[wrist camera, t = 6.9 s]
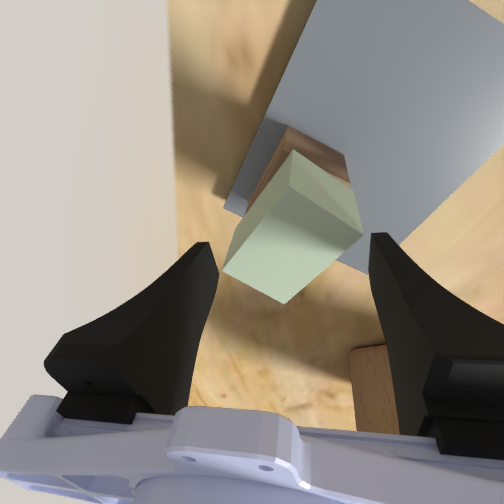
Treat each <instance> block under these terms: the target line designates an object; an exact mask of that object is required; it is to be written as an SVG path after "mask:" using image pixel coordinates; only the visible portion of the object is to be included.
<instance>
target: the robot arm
mask: <svg viewBox="0 0 504 504" xmlns="http://www.w3.org/2000/svg"><path fill="white" fill-rule="evenodd" d="M368 272H369V279H370V286H371V291H372V295H373V298H374V302H375V305H376V309H377V312H378V316H379V319H380V323H381V326H382V330H383V333H384V337H385V342H386V346H387V352H388V358H389V364H390V370H391V376H392V383H393V389H394V396H395V403H396V410H397V417H398V425H399V432H400V435H395V434H383V433H372V432H360V431H348V430H336V429H325V428H313V427H301V426H295V425H294V423H293V422H292V421H291V420H290V419H288V418H286V417H284V416H282V415H280V414H277V413H272V412H267V411H259V410H245V409H232V408H219V407H206V406H188V400H189V394H190V388H191V382H192V376H193V371H194V366H195V361H196V356H197V351H198V347H199V342H200V339H201V335H202V332H203V329H204V326H205V323H206V320H207V317H208V314H209V311H210V308H211V306H212V303H213V300H214V297H215V293H216V289H217V284H218V279H219V271H218V268H217V265H216V262H215V259H214V256H213V253H212V250H211V247H210V244H209V242H197V243H196V244H194V245H193V246H192V247H191V248H190V249H189V250H188V251H187V252H186V253H185V254H184V255H183V256H182V257H181V258H180V259H179V260H178V261H176V262H175V263H174V264H173V265H172V266H171V267H170V268H169V269H168V270H167V271H166V272H165V273H163V274H162V275H161V276H160V277H159V278H158V279H157V280H155V281H154V282H153V283H152V284H151V285H149V286H148V287H147V288H145V289H144V290H143V291H141V292H140V293H139V294H137V295H136V296H134V297H133V298H132V299H130V300H128V301H127V302H125V303H124V304H122V305H120V306H119V307H117V308H116V309H114V310H112V311H110V312H109V313H107V314H105V315H103V316H101V317H99V318H97V319H96V320H94V321H92V322H90V323H88V324H85V325H83V326H81V327H79V328H77V329H74V330H72V331H70V332H68V333H65V334H64V335H63V336H62V337H61V339H60V340H59V341H58V343H57V344H56V345H55V347H54V348H53V349H52V351H51V352H50V353H49V355H48V356H47V357H46V359H45V360H44V367H45V369H46V371H47V372H48V373H49V375H50V376H51V377H52V378H54V379H55V380H56V381H57V382H58V383H59V384H60V385H61V386H63V387H64V388H65V389H66V390H67V391H68V392H67V394H66V396H65V397H64V399H62V398H59V397H55V396H46V395H32V396H31V397H30V398H29V400H28V401H27V403H26V404H25V405H24V407H23V408H22V409H21V411H20V412H19V414H18V415H17V417H16V418H15V419H14V421H13V422H12V424H11V425H10V426H9V428H8V429H7V431H6V432H5V434H4V435H3V436H2V438H1V439H0V477H2V478H4V479H6V480H8V481H10V482H13V483H14V484H17V485H19V486H21V487H23V488H25V489H27V490H32V491H37V492H43V493H49V494H54V495H59V496H64V497H69V498H73V499H77V500H82V501H86V502H91V503H95V504H504V324H502V323H500V322H498V321H496V320H494V319H492V318H491V317H489V316H487V315H485V314H483V313H482V312H480V311H478V310H477V309H475V308H473V307H472V306H470V305H469V304H467V303H465V302H464V301H462V300H461V299H459V298H458V297H456V296H455V295H453V294H452V293H450V292H449V291H448V290H446V289H445V288H444V287H442V286H441V285H440V284H438V283H437V282H436V281H435V280H434V279H432V278H431V277H430V276H429V275H428V274H427V273H426V272H424V271H423V270H422V269H421V268H420V267H419V266H418V265H417V264H416V263H415V262H414V261H413V260H412V259H411V258H410V257H409V256H408V255H407V254H406V253H405V252H404V251H403V250H402V249H401V247H400V246H399V245H398V244H397V243H396V242H395V241H394V239H393V238H392V237H391V236H390V235H389V234H388V233H387V232H378V233H371V239H370V252H369V265H368Z"/></svg>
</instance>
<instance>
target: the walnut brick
mask: <svg viewBox="0 0 504 504" xmlns="http://www.w3.org/2000/svg"><path fill="white" fill-rule="evenodd" d="M293 149H294V150H295V151H296V152H298V153H299V154H301V155H302V156H304V157H305V158H307V159H308V160H310V161H311V162H312V163H314V164H315V165H317V166H318V167H320V168H321V169H323V170H324V171H326V172H327V173H328V174H330V175H331V176H333V177H334V178H336V179H337V180H339V181H340V182H341V183H343V184H344V185H346V186H347V187H349V185H350V180H349V175H348V171H347V166H346V161H345V157H344V154H342V153H340V152H338V151H336V150H334V149H332V148H330V147H328V146H326V145H325V144H323V143H321V142H319V141H317V140H315V139H313V138H311V137H309V136H307V135H305V134H304V133H302V132H300V131H298V130H296V129H294V128H292V127H290V126H287V128H286V130H285V132H284V134H283V135H282V137H281V139H280V141H279V143H278V145H277V147H276V149H275V151H274V153H273V155H272V157H271V159H270V161H269V163H268V165H267V167H266V169H265V171H264V172H263V174H262V176H261V178H260V180H259V182H258V184H257V186H256V188H255V190H254V192H253V194H252V196H251V198H250V200H249V202H248V205H247V208H246V212H245V214H246V213H247V212H248V210H249V209H250V208H251V206H252V205H253V204H254V202H255V201H256V199H257V198H258V197H259V195H260V194H261V193H262V191H263V190H264V188H265V187H266V186H267V184H268V183H269V182H270V180H271V179H272V178H273V176H274V175H275V173H276V172H277V171H278V169H279V168H280V167H281V165H282V164H283V163H284V161H285V160H286V158H287V157H288V156H289V154H290V153H291V152H292V150H293ZM244 216H245V215H244Z"/></svg>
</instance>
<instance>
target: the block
mask: <svg viewBox="0 0 504 504" xmlns="http://www.w3.org/2000/svg"><path fill="white" fill-rule="evenodd" d="M349 364H350V373H351V382H352V392H353V401H354V410H355V419H356V429H357V431H360V432H372V433H383V434H395V435H400V432H399V425H398V417H397V410H396V403H395V396H394V389H393V383H392V376H391V370H390V364H389V358H388V352H387V346H386V345H379V346H371V347H364V348H357V349H354V350H352V351H351V353H350V357H349Z"/></svg>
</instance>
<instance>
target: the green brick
mask: <svg viewBox="0 0 504 504" xmlns="http://www.w3.org/2000/svg"><path fill="white" fill-rule="evenodd" d="M363 235H364V233H363V228H362V224H361V220H360V215H359V211H358V207H357V202H356V198H355V194H354V191H353V190H352V189H350V188H349V187H347V186H346V185H344V184H343V183H341V182H340V181H339V180H337V179H336V178H334V177H333V176H331V175H330V174H328V173H327V172H326V171H324V170H323V169H321V168H320V167H318V166H317V165H315V164H314V163H312V162H311V161H310V160H308V159H307V158H305V157H304V156H302V155H301V154H299V153H298V152H296V151H295V150H294V149H293V150H292V152H291V153H290V154H289V156H288V157H287V158H286V160H285V161H284V163H283V164H282V165H281V167H280V168H279V169H278V171H277V172H276V173H275V175H274V176H273V178H272V179H271V180H270V182H269V183H268V184H267V186H266V187H265V188H264V190H263V191H262V193H261V194H260V195H259V197H258V198H257V199H256V201H255V202H254V204H253V205H252V206H251V208H250V209H249V210H248V212H247V213H246V214H245V216H244V217H243V219H242V220H241V221H240V223H239V224H238V225H237V227H236V229H235V232H234V235H233V238H232V241H231V244H230V247H229V250H228V253H227V256H226V259H225V262H224V265H223V269H222V271H223V272H225V273H226V274H228V275H230V276H232V277H234V278H236V279H238V280H240V281H241V282H243V283H245V284H247V285H249V286H251V287H253V288H254V289H256V290H258V291H260V292H262V293H264V294H266V295H268V296H269V297H271V298H273V299H275V300H277V301H279V302H281V303H283V304H285V303H287V302H288V301H289V300H290V299H291V298H292V297H293V296H295V295H296V294H297V293H298V292H299V291H300V290H301V289H303V288H304V287H305V286H306V285H307V284H308V283H309V282H311V281H312V280H313V279H314V278H315V277H316V276H317V275H319V274H320V273H321V272H322V271H323V270H324V269H325V268H327V267H328V266H329V265H330V264H331V263H332V262H333V261H335V260H336V259H337V258H338V257H339V256H340V255H341V254H343V253H344V252H345V251H346V250H347V249H348V248H349V247H351V246H352V245H353V244H354V243H355V242H356V241H357V240H359V239H360V238H361V237H362V236H363Z"/></svg>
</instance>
